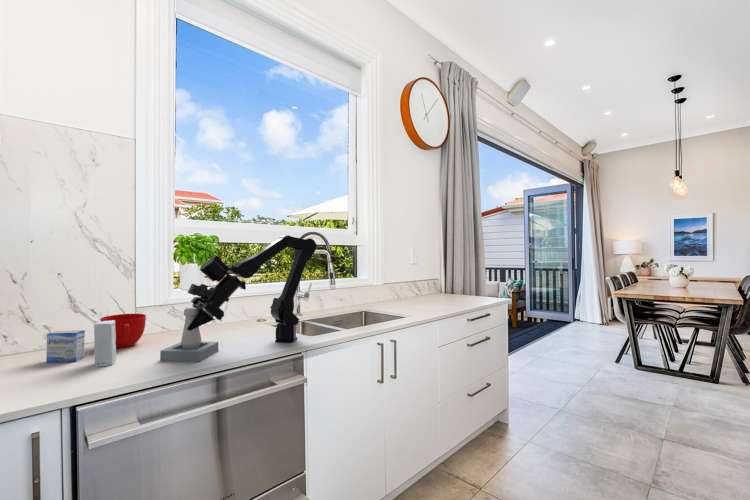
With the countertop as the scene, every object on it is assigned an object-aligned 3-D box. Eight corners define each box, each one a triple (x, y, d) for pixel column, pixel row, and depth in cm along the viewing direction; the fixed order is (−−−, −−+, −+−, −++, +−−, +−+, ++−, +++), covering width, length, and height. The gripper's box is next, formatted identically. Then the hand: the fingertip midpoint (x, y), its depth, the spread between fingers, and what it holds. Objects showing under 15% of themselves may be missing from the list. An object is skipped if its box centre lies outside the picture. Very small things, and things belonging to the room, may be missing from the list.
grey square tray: (218, 350, 123) (218, 341, 123) (199, 361, 111) (199, 351, 111) (183, 349, 124) (183, 340, 124) (160, 360, 112) (160, 350, 112)
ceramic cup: (102, 355, 116) (102, 323, 116) (99, 344, 130) (99, 315, 130) (150, 349, 125) (150, 319, 125) (143, 339, 138) (143, 312, 138)
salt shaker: (200, 350, 116) (200, 308, 116) (180, 352, 114) (179, 309, 114) (202, 345, 121) (202, 306, 121) (182, 347, 119) (182, 307, 119)
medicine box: (45, 363, 109) (45, 333, 109) (55, 358, 113) (55, 330, 113) (76, 362, 110) (76, 332, 110) (85, 357, 114) (85, 329, 114)
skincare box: (112, 365, 107) (112, 323, 107) (93, 367, 105) (93, 324, 105) (116, 359, 112) (116, 319, 112) (98, 361, 110) (98, 320, 110)
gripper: (197, 273, 127) (160, 308, 120) (212, 276, 113) (172, 317, 106) (221, 294, 132) (187, 329, 125) (239, 300, 117) (202, 340, 111)
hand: (186, 328), depth 117 cm, fingers closed on salt shaker, 3 cm apart
